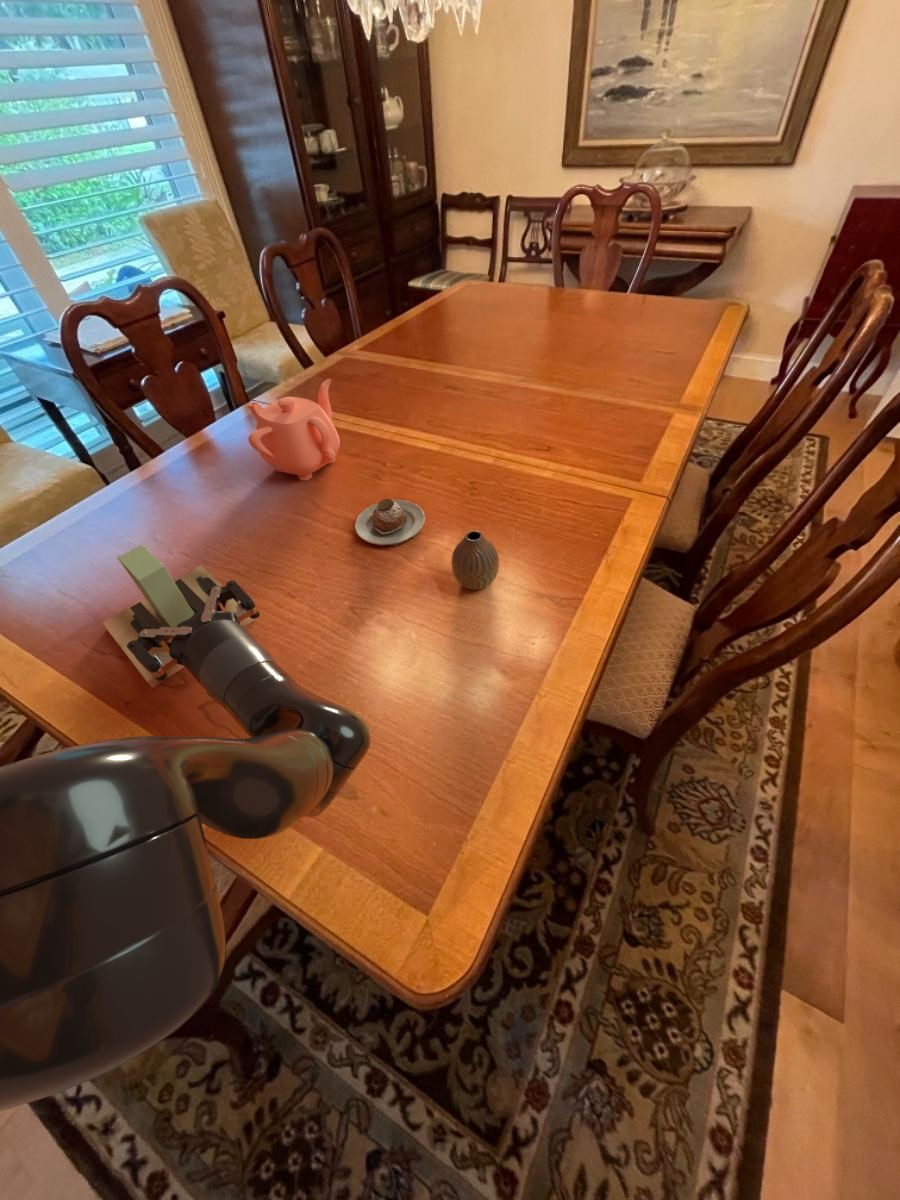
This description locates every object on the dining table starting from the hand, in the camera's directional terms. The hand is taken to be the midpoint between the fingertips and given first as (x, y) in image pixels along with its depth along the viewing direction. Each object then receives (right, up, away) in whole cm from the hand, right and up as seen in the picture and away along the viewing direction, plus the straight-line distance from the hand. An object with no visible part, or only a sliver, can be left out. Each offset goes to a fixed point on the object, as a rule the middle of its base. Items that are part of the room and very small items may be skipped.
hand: (169, 600), depth 69 cm
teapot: (+7, +28, +40) cm, 49 cm away
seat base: (-4, -4, +10) cm, 12 cm away
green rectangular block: (-4, -2, +9) cm, 10 cm away
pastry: (+26, +13, +23) cm, 37 cm away
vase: (+40, +3, +12) cm, 42 cm away
